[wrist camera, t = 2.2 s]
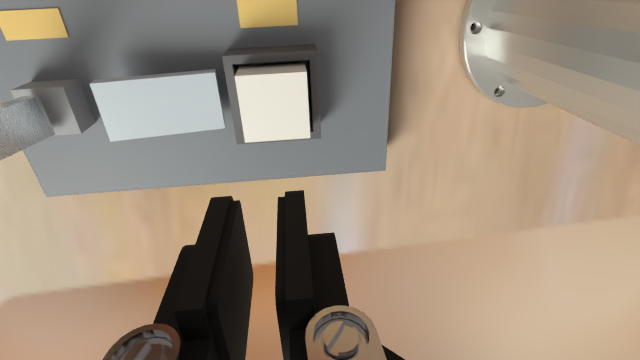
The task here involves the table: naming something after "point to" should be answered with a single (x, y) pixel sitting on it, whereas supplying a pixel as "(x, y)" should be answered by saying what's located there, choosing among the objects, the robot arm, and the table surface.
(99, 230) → the table surface
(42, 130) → the toggle lever
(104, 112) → the rocker switch
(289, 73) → the push button
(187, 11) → the switch panel
